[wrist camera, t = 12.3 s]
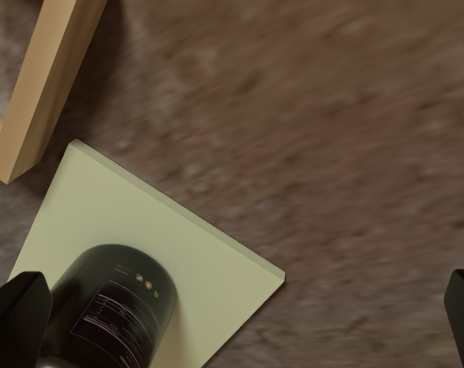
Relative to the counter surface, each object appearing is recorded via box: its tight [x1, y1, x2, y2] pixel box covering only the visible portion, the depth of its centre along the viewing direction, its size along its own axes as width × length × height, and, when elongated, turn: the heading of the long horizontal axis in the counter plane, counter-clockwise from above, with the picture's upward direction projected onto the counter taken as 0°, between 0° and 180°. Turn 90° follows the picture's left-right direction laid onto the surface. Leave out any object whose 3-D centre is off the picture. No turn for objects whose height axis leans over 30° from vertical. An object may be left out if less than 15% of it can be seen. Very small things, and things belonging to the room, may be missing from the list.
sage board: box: [7, 138, 285, 368], centre depth 27 cm, size 14×14×1 cm
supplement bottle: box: [35, 244, 175, 368], centre depth 22 cm, size 7×7×12 cm
